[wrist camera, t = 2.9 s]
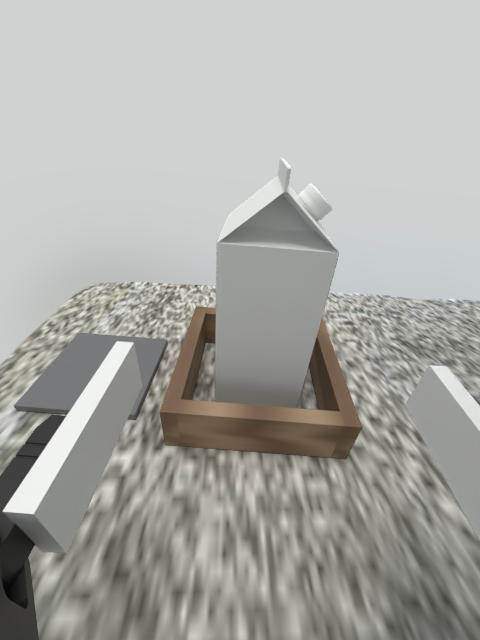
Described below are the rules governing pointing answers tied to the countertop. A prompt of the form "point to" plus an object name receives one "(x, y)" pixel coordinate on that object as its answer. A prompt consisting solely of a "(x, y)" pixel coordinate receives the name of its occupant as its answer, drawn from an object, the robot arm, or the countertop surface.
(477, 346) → the countertop surface
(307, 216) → the milk carton
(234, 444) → the wooden square frame
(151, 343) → the rubber mat
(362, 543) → the countertop surface
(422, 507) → the countertop surface
